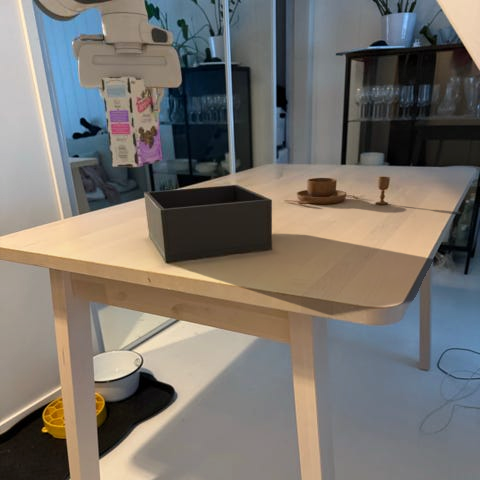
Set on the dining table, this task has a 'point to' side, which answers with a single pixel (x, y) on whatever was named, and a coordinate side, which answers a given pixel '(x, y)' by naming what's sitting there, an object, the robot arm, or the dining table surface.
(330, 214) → the dining table surface
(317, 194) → the place setting
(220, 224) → the dark storage bin
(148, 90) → the candy box
